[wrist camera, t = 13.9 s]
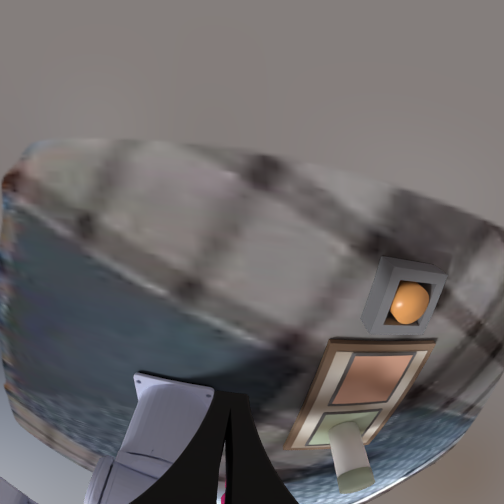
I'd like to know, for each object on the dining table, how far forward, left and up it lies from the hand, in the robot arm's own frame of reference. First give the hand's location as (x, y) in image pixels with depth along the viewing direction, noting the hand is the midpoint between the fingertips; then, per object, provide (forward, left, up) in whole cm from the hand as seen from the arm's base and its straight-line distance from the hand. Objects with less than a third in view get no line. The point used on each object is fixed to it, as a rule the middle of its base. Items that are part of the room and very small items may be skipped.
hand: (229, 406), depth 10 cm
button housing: (+2, -13, -10) cm, 17 cm away
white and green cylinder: (-16, -14, -10) cm, 23 cm away
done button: (+2, -13, -10) cm, 16 cm away
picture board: (-12, -14, -10) cm, 21 cm away
